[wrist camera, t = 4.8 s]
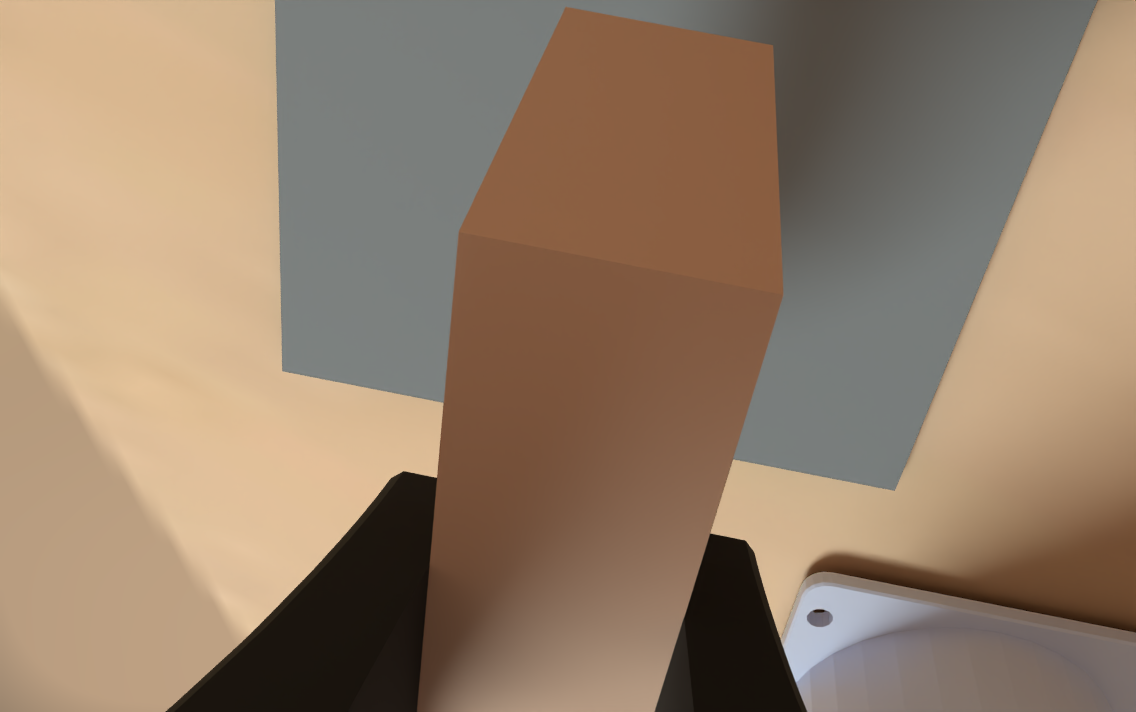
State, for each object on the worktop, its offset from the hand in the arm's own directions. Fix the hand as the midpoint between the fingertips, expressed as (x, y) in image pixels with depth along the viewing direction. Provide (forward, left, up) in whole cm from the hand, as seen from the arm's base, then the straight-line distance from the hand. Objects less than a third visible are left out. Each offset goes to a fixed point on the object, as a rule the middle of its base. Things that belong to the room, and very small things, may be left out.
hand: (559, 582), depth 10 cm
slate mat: (0, 0, -9) cm, 9 cm away
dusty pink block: (0, 0, -3) cm, 3 cm away
